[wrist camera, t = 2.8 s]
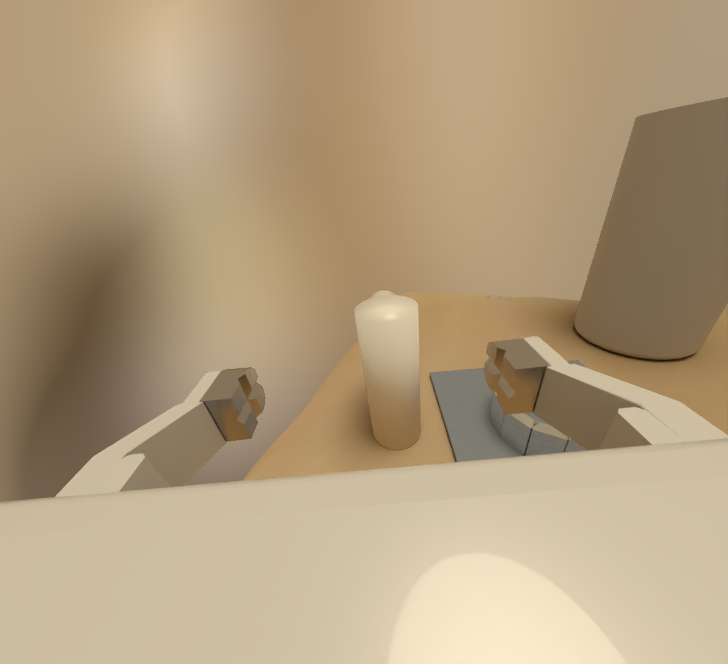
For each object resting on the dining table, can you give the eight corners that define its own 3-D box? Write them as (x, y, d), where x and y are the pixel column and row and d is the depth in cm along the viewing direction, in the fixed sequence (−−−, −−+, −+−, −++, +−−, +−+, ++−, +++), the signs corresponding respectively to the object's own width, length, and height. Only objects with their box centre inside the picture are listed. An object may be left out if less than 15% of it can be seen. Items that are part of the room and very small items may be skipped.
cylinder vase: (728, 366, 30) (941, 60, 17) (592, 358, 34) (688, 102, 21) (659, 315, 40) (762, 99, 28) (560, 313, 44) (612, 123, 31)
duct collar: (631, 464, 22) (649, 435, 20) (516, 470, 22) (523, 442, 21) (562, 388, 29) (570, 362, 28) (478, 394, 30) (481, 369, 28)
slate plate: (759, 528, 18) (764, 524, 17) (479, 538, 19) (480, 535, 19) (576, 363, 33) (577, 360, 33) (429, 375, 35) (429, 372, 34)
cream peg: (425, 447, 26) (423, 318, 19) (373, 451, 26) (353, 326, 19) (411, 387, 33) (406, 279, 26) (371, 391, 33) (356, 285, 26)
